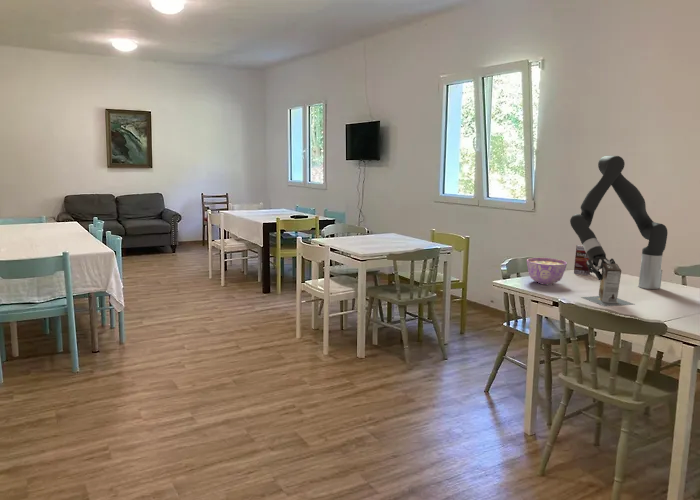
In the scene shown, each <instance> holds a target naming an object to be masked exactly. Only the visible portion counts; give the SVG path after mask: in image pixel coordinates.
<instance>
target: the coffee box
mask: <svg viewBox="0 0 700 500" xmlns="http://www.w3.org/2000/svg"><path fill="white" fill-rule="evenodd" d="M600 273H601V275H602V277H603V279H602V280H599V282H600V283H599V289H598V296H600V298H601V300H602V302H603V303H617V298H619V297H618V296H619V290H620V283H621V277H622V276H621V275H622V270H621V268H620V266H619V265H618V263H616V264H606V263H603V266H602V269H601V272H600Z"/></svg>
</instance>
